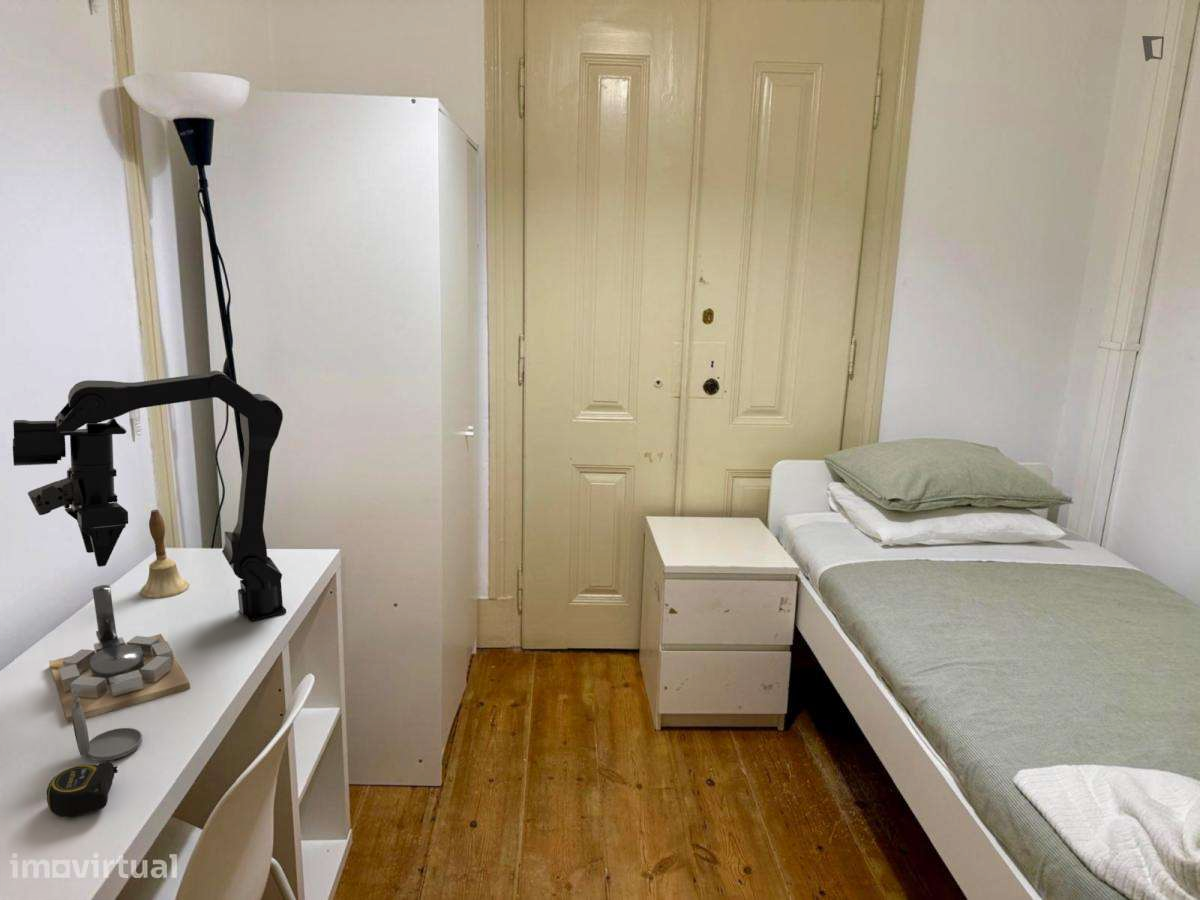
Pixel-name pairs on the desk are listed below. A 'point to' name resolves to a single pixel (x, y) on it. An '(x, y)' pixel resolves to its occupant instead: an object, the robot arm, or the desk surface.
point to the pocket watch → (102, 737)
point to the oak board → (107, 702)
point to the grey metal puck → (116, 661)
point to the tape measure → (80, 789)
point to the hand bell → (162, 566)
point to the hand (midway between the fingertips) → (95, 559)
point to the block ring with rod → (108, 638)
